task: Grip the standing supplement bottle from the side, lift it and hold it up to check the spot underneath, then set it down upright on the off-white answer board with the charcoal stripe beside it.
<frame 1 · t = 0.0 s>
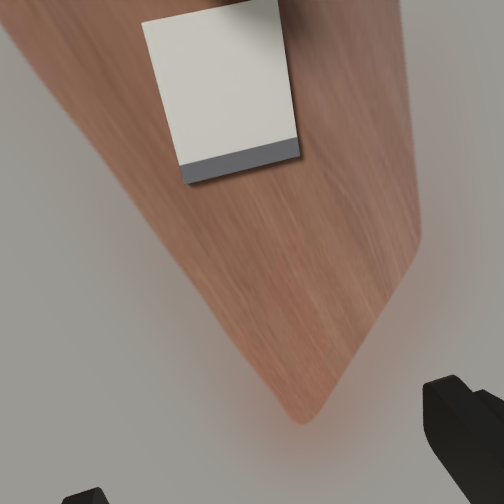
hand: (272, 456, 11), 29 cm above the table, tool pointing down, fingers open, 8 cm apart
answer board: (226, 94, 35), on the table
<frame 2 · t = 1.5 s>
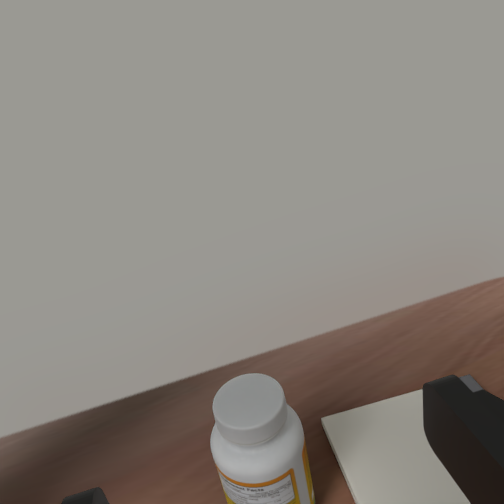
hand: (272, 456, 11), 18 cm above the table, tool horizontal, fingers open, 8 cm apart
answer board: (432, 458, 30), on the table
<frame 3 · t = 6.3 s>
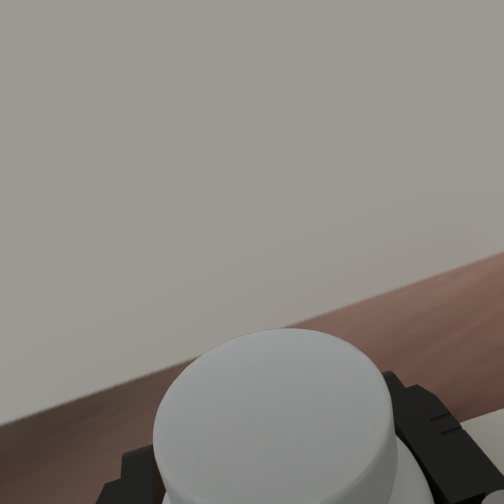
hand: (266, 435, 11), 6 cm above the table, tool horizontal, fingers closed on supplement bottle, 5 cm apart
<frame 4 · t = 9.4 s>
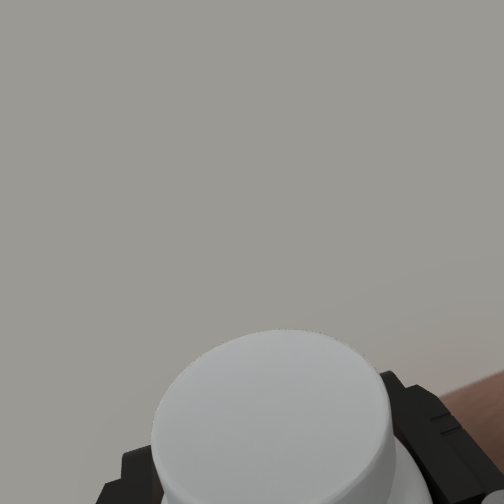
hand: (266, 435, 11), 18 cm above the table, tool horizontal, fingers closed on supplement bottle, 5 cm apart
when the fingers open (8 cm above the table, at t = 12.7 s): supplement bottle drops 1 cm, resting on answer board.
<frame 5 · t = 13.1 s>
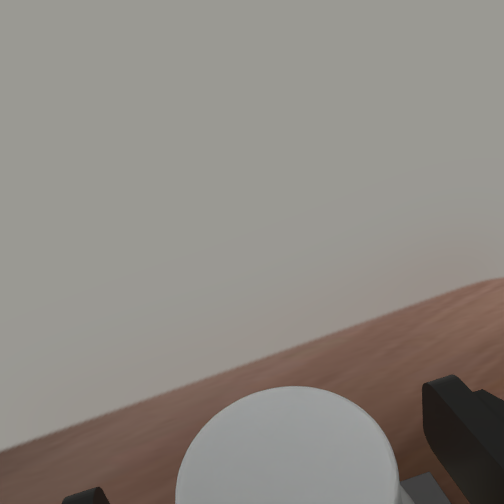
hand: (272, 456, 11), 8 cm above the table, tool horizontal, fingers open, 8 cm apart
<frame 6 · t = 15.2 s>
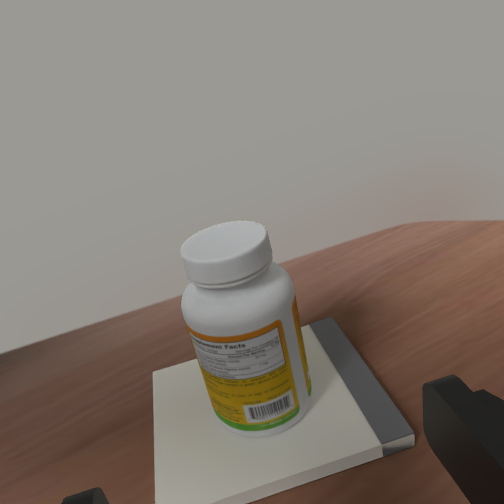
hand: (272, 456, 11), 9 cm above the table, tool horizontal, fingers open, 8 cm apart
supplement bottle: (264, 402, 24), point 1 cm above the table, touching answer board
answer board: (265, 408, 24), on the table
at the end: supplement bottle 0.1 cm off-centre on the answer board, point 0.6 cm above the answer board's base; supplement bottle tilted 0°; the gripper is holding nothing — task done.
